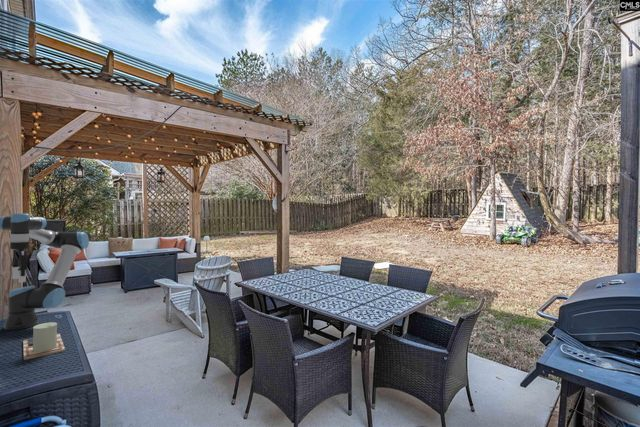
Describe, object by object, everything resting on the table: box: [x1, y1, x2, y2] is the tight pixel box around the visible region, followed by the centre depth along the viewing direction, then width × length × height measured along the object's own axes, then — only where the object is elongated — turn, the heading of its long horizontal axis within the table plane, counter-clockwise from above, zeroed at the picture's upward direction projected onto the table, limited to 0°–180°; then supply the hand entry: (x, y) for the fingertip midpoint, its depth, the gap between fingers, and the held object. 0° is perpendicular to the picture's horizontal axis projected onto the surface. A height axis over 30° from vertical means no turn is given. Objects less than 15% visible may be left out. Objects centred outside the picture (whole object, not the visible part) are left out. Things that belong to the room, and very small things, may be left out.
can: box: [32, 321, 58, 352], centre depth 158 cm, size 9×9×12 cm
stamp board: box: [22, 332, 66, 361], centre depth 163 cm, size 28×15×2 cm, turn 44°
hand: (18, 280), depth 173 cm, fingers open, 13 cm apart
